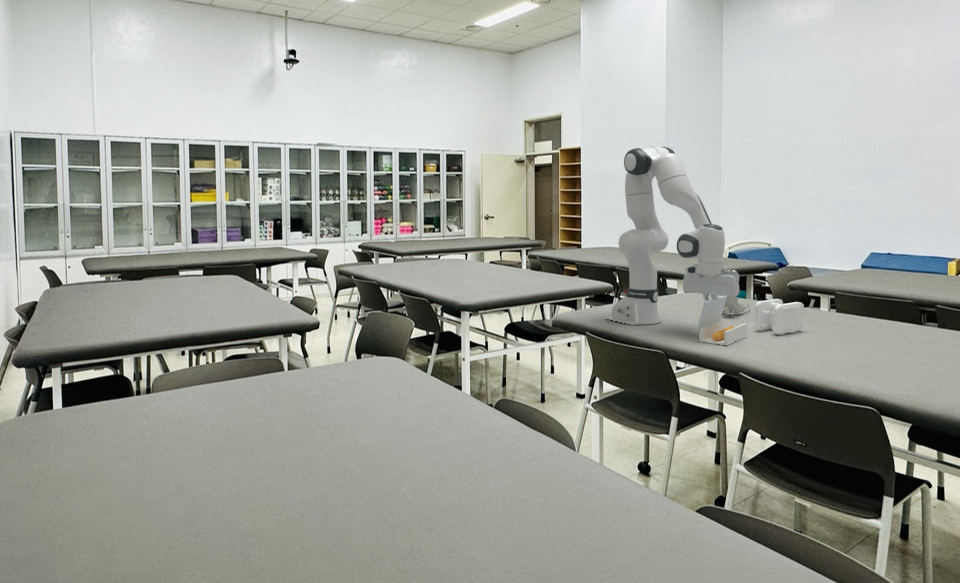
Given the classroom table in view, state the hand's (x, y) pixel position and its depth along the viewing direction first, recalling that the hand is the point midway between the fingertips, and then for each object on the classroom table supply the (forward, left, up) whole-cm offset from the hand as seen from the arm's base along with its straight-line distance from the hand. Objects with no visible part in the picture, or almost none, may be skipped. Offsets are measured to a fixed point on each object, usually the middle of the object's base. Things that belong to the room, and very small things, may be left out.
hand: (709, 306), depth 234 cm
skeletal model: (-11, +47, -12) cm, 50 cm away
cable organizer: (+16, +25, -12) cm, 32 cm away
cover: (+1, 0, -2) cm, 2 cm away
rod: (+6, 0, -11) cm, 13 cm away
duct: (+5, 0, -12) cm, 13 cm away
